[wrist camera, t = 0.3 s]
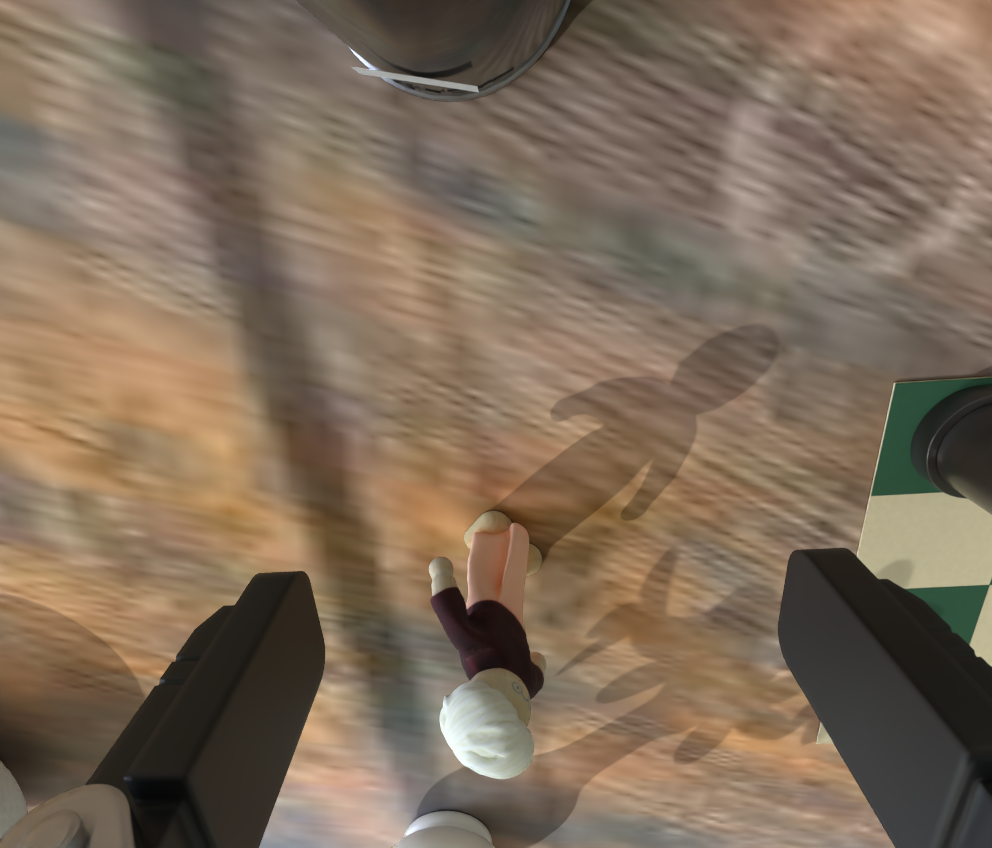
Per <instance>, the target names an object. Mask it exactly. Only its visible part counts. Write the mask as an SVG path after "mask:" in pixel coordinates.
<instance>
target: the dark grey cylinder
mask: <svg viewBox="0 0 992 848" xmlns="http://www.w3.org/2000/svg"><path fill="white" fill-rule="evenodd" d="M910 454H911V460H912V463H913V466H914V468H915V470H916V471H917V473H918V474H919V475H920V476H921V477H922V478H923V479H925V480H926V481H927V482H929V483H930V484H932V485H933V486H935V487H936V488H937V489H939V490H940V491H942V492H944V493H945V494H948V495H950V496H954V497H958V498H965V499H969V500H971V501H972V502H974V503H975V504H977V505H978V506H980V507H981V508H982V509H984V510H985V511H987V512H988V513H990V514H991V515H992V385H978V386H973V387H968V388H965V389H962V390H960V391H957V392H955V393H953V394H951V395H949V396H948V397H946V398H944V399H943V400H941V401H940V402H939V403H937V404H936V405H935V406H934V407H933V408H932V409H931V410H930V411H929V412H928V413H927V414H926V415H925V416H924V417H923V419H922V420H921V421H920V423H919V425H918V426H917V428H916V430H915V432H914V435H913V438H912V441H911V447H910Z"/></svg>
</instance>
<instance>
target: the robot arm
mask: <svg viewBox="0 0 992 848" xmlns="http://www.w3.org/2000/svg"><path fill="white" fill-rule="evenodd" d="M296 1H297V2H298V3H299V4H300V5H301V6H303V7H304V8H305V9H306V10H307V11H308V12H309V13H311V14H312V15H313V16H314V17H315V18H316V19H317V20H319V21H320V22H321V23H322V24H323V25H324V26H326V27H327V28H328V29H329V30H330V31H331V32H332V33H334V34H335V35H336V36H337V37H338V38H339V39H340V40H342V41H343V42H344V43H345V44H346V45H347V46H348V47H349V48H350V49H351V50H352V52H353V53H354V54H355V55H356V56H357V57H358V58H359V59H360V60H361V61H362V62H363V63H364V64H365V65H366V66H367V67H368V68H369V69H364V68H357V67H352V68H353V69H355V70H356V71H357V72H358V73H360V74H364V75H371V76H377V77H380V78H382V79H383V80H385V81H386V82H388V83H389V84H391V85H392V86H394V87H396V88H398V89H400V90H402V91H404V92H406V93H409V94H411V95H414V96H417V97H420V98H423V99H428V100H433V101H443V102H459V101H466V100H472V99H476V98H480V97H483V96H486V95H489V94H491V93H494V92H496V91H498V90H500V89H502V88H504V87H506V86H507V85H509V84H510V83H512V82H513V81H515V80H516V79H517V78H519V77H520V76H521V75H522V74H524V73H525V72H526V71H527V70H528V69H529V68H530V67H531V66H532V65H533V64H534V63H535V62H536V61H537V60H538V59H539V57H540V56H541V55H542V54H543V53H544V51H545V50H546V48H547V47H548V46H549V44H550V43H551V41H552V40H553V38H554V36H555V34H556V33H557V31H558V29H559V27H560V25H561V23H562V21H563V18H564V16H565V14H566V11H567V9H568V6H569V3H570V0H296ZM370 69H371V70H370ZM778 636H779V643H780V647H781V651H782V654H783V657H784V659H785V662H786V664H787V665H788V667H789V669H790V671H791V672H792V674H793V676H794V677H795V679H796V681H797V682H798V684H799V686H800V688H801V689H802V691H803V693H804V694H805V696H806V698H807V699H808V701H809V703H810V704H811V706H812V708H813V709H814V711H815V713H816V715H817V716H818V718H819V720H820V721H821V723H822V725H823V726H824V728H825V730H826V731H827V733H828V735H829V736H830V738H831V740H832V741H833V743H834V745H835V747H836V748H837V750H838V752H839V753H840V755H841V757H842V758H843V760H844V762H845V763H846V765H847V767H848V768H849V770H850V772H851V774H852V775H853V777H854V779H855V780H856V782H857V784H858V785H859V787H860V789H861V790H862V792H863V794H864V795H865V797H866V799H867V801H868V802H869V804H870V806H871V807H872V809H873V811H874V812H875V814H876V816H877V817H878V819H879V821H880V822H881V824H882V826H883V828H884V829H885V831H886V833H887V834H888V836H889V838H890V839H891V841H892V843H893V844H894V846H895V848H992V667H991V666H990V665H989V664H988V663H987V662H986V661H985V660H984V659H983V658H982V657H977V656H976V655H975V650H974V649H973V648H972V647H971V646H970V645H969V644H968V643H967V642H966V641H965V640H964V639H962V638H961V637H960V636H959V635H958V634H957V633H953V632H952V630H951V627H950V626H949V625H948V624H947V623H946V622H945V621H944V620H943V619H942V618H941V617H940V616H939V615H938V614H937V613H936V612H935V611H934V610H933V609H932V608H931V607H930V606H929V605H928V604H927V603H926V602H925V601H924V600H922V599H920V598H919V597H917V596H915V595H914V594H912V593H910V592H909V591H907V590H905V589H904V588H902V587H900V586H899V585H897V584H895V583H894V582H892V581H890V580H889V579H878V578H877V577H876V576H875V575H874V574H873V573H872V572H871V571H870V570H869V569H868V568H867V567H866V566H865V565H864V564H863V563H862V562H861V561H860V560H859V559H858V557H857V556H856V555H855V554H854V553H852V552H851V551H850V550H848V549H846V548H829V549H807V550H795V551H793V552H792V554H791V555H790V557H789V561H788V566H787V572H786V578H785V585H784V591H783V597H782V603H781V609H780V615H779V622H778ZM324 664H325V644H324V638H323V634H322V630H321V625H320V621H319V617H318V613H317V609H316V604H315V600H314V596H313V592H312V587H311V583H310V580H309V577H308V575H307V574H306V573H305V572H303V571H294V572H272V573H258V574H256V575H255V576H254V577H253V578H252V580H251V581H250V583H249V584H248V586H247V587H246V589H245V590H244V592H243V593H242V595H241V597H240V598H239V600H238V601H237V603H236V604H235V605H233V606H223V607H222V608H220V609H219V610H218V611H217V612H216V613H214V614H213V615H212V616H211V617H209V618H208V619H207V620H206V621H205V622H203V623H202V624H201V625H200V626H199V627H197V628H196V629H195V630H194V632H193V633H192V634H191V636H190V637H189V639H188V640H187V642H186V643H185V644H184V646H183V647H182V649H181V650H180V651H179V653H178V654H177V656H176V661H175V662H172V663H171V664H170V666H169V667H168V668H167V670H166V671H165V673H164V674H163V676H162V677H161V678H160V684H159V686H155V687H154V688H153V690H152V691H151V693H150V694H149V695H148V697H147V698H146V700H145V701H144V703H143V704H142V705H141V707H140V708H139V710H138V711H137V712H136V714H135V715H134V717H133V718H132V720H131V721H130V722H129V724H128V725H127V727H126V728H125V730H124V731H123V732H122V734H121V735H120V737H119V738H118V739H117V741H116V742H115V744H114V745H113V747H112V748H111V749H110V751H109V752H108V754H107V755H106V757H105V758H104V759H103V761H102V762H101V764H100V765H99V766H98V768H97V769H96V771H95V772H94V774H93V775H92V776H91V778H90V779H89V780H88V782H87V783H86V784H85V786H81V787H77V788H74V789H71V790H68V791H66V792H63V793H61V794H59V795H57V796H55V797H53V798H51V799H49V800H48V801H46V802H44V803H42V804H41V805H39V806H38V807H36V808H35V809H33V810H32V811H30V812H29V813H27V814H26V815H25V816H24V817H23V818H21V819H20V820H19V821H18V822H16V823H15V824H14V825H13V826H12V827H11V828H10V829H9V830H8V831H7V832H6V833H5V834H3V836H2V837H1V838H0V848H259V845H260V843H261V840H262V837H263V834H264V832H265V829H266V826H267V824H268V821H269V818H270V816H271V813H272V810H273V808H274V805H275V802H276V800H277V797H278V794H279V792H280V789H281V786H282V784H283V781H284V778H285V776H286V773H287V770H288V768H289V765H290V762H291V760H292V757H293V754H294V752H295V749H296V746H297V744H298V741H299V738H300V736H301V733H302V730H303V728H304V725H305V722H306V720H307V717H308V714H309V712H310V709H311V706H312V704H313V701H314V698H315V696H316V693H317V690H318V688H319V685H320V682H321V679H322V675H323V671H324Z"/></svg>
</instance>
